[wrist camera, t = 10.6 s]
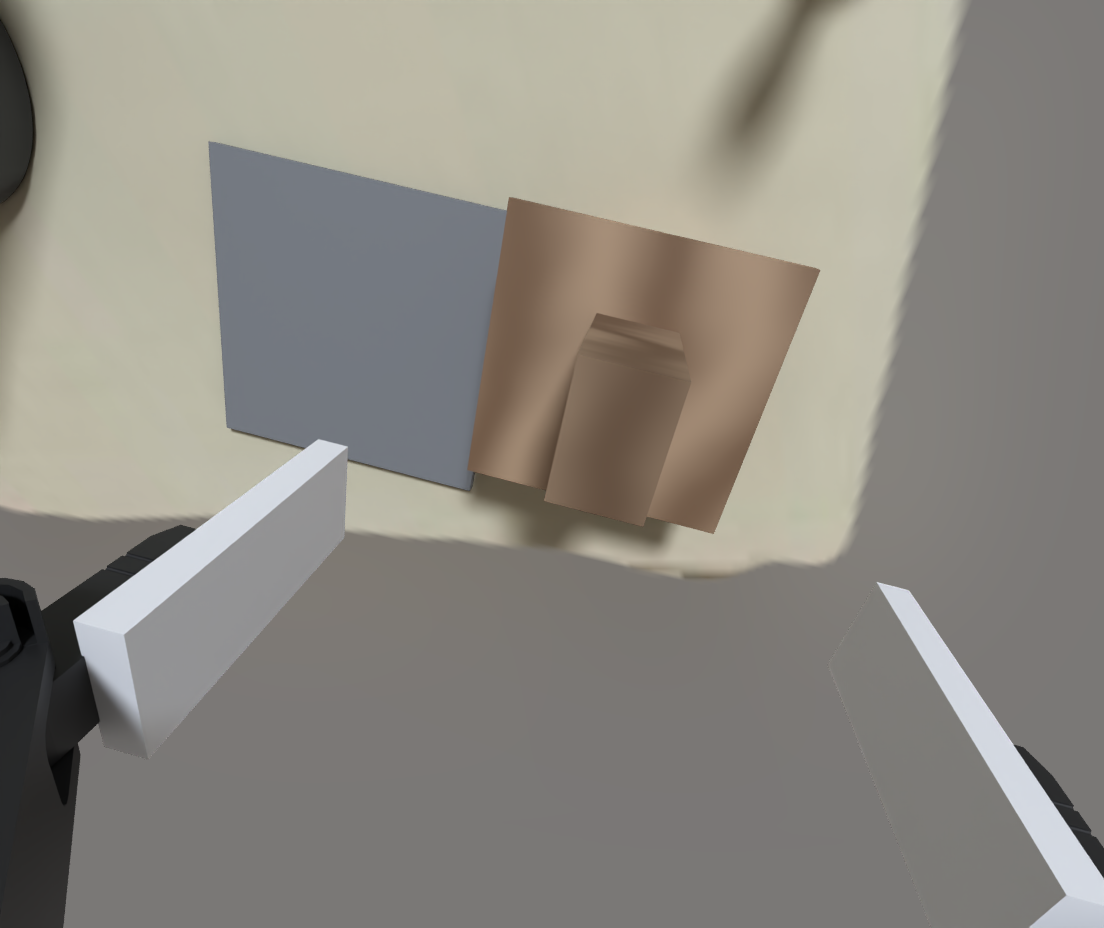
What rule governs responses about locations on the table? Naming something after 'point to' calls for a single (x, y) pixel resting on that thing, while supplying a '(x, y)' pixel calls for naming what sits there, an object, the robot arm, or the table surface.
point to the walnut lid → (629, 364)
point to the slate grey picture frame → (352, 311)
